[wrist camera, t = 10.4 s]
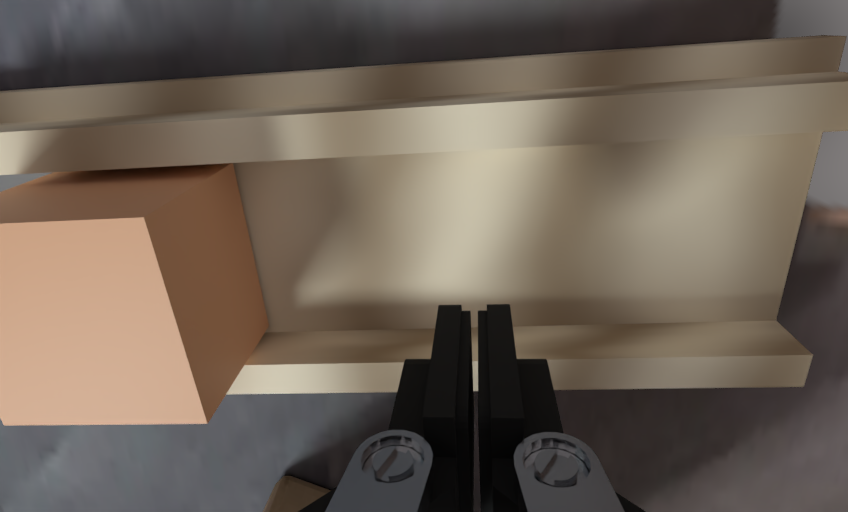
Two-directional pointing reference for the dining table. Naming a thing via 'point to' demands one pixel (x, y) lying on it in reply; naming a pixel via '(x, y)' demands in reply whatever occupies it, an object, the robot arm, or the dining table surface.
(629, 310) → the chute
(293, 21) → the dining table surface
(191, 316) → the block
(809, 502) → the dining table surface
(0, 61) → the dining table surface
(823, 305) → the dining table surface
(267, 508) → the wooden block
